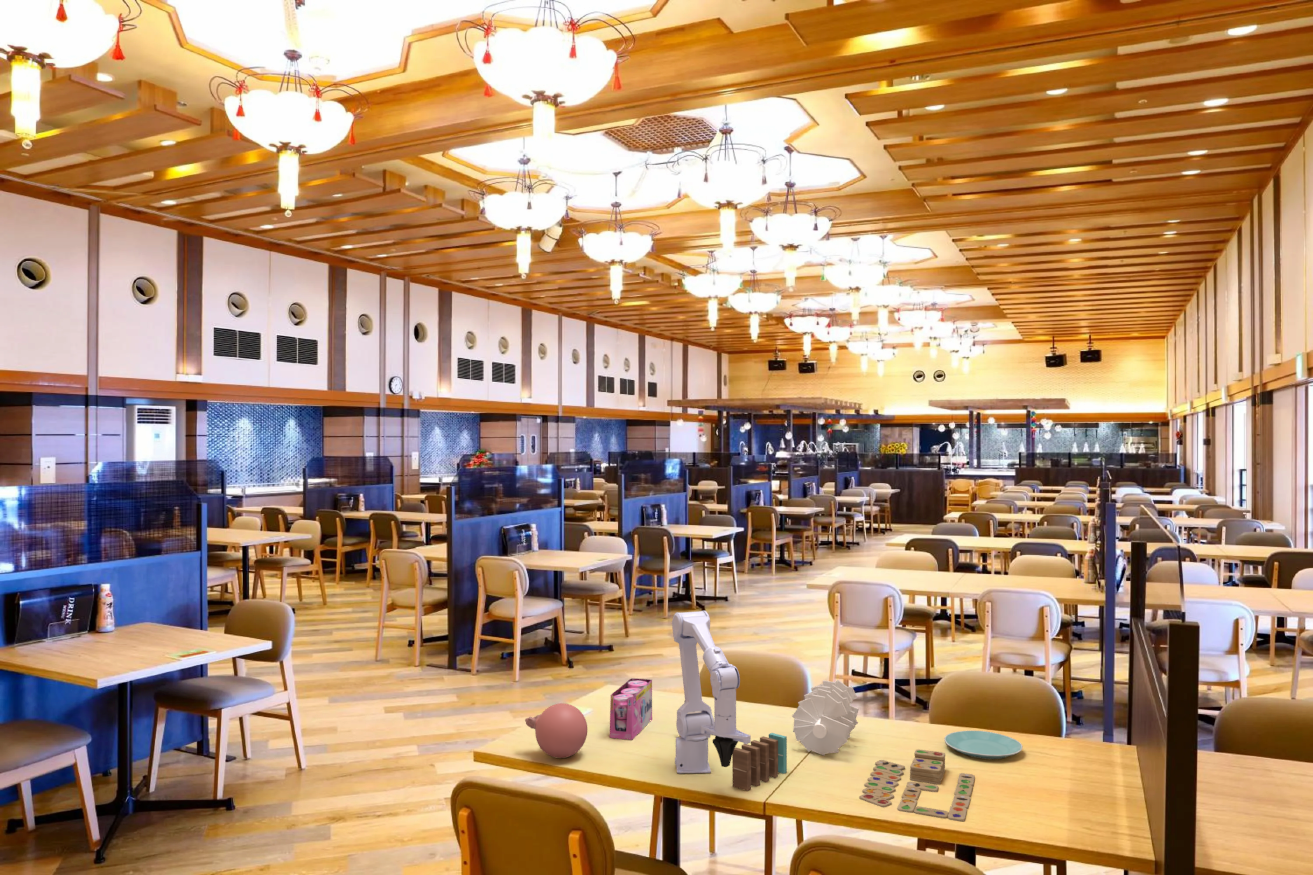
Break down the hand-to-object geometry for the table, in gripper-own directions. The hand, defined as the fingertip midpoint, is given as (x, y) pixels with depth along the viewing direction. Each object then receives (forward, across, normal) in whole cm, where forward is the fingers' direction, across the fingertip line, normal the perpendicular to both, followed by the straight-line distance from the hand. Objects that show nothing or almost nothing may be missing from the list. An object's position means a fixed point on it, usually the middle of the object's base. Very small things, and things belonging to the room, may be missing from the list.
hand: (725, 765), depth 226 cm
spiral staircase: (+8, -2, -52) cm, 52 cm away
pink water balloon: (+7, +57, +8) cm, 58 cm away
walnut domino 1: (+7, -1, -6) cm, 10 cm away
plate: (+8, -41, -77) cm, 87 cm away
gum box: (+7, +56, -26) cm, 62 cm away
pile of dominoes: (+8, -37, -36) cm, 52 cm away
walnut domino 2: (+7, -1, -10) cm, 13 cm away
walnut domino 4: (+7, -1, -19) cm, 20 cm away
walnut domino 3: (+7, -1, -15) cm, 17 cm away
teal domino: (+7, -2, -23) cm, 24 cm away
